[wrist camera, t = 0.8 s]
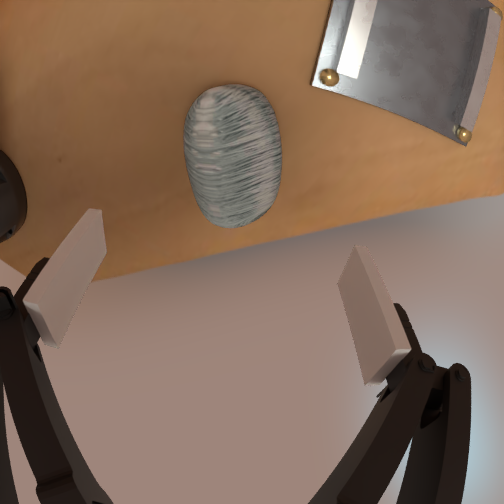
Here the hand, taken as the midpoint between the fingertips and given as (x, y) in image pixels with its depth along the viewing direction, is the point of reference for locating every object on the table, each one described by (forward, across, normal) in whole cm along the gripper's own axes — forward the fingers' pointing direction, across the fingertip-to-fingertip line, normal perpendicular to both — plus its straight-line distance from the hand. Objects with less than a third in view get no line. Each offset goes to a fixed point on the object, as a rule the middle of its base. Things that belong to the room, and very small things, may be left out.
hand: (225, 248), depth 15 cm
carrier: (+18, +16, +17) cm, 30 cm away
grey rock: (+19, 0, 0) cm, 19 cm away
